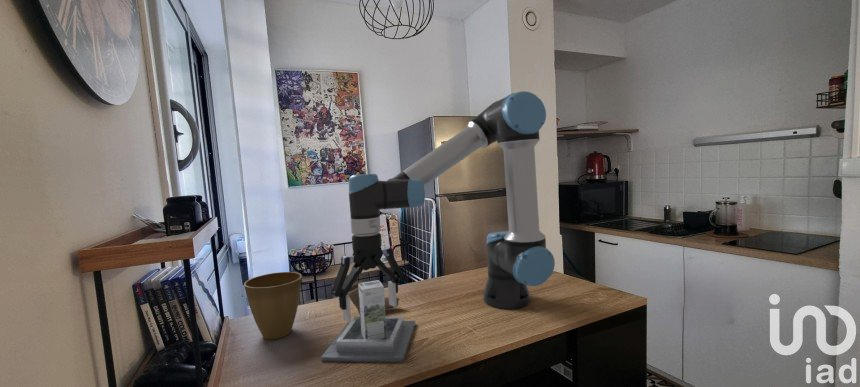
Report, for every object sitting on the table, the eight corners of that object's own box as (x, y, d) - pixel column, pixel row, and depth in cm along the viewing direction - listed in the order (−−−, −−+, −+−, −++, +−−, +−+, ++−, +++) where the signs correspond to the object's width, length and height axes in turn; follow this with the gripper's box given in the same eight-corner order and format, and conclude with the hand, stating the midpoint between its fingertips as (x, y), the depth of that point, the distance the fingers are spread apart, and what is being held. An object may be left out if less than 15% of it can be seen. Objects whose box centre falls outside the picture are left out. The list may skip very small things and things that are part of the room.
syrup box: (381, 330, 97) (378, 278, 96) (387, 339, 92) (384, 285, 90) (360, 334, 95) (357, 282, 94) (365, 344, 89) (362, 289, 88)
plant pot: (299, 342, 94) (295, 284, 93) (240, 349, 92) (235, 290, 91) (309, 319, 109) (306, 269, 107) (259, 325, 106) (254, 273, 105)
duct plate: (415, 324, 102) (415, 312, 102) (403, 362, 82) (402, 348, 82) (349, 324, 104) (348, 312, 104) (321, 361, 84) (320, 347, 84)
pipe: (401, 312, 111) (399, 281, 110) (347, 319, 107) (345, 288, 107) (398, 305, 117) (397, 275, 116) (347, 311, 114) (345, 281, 113)
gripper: (325, 243, 80) (332, 333, 82) (413, 228, 96) (417, 303, 97) (313, 239, 86) (319, 323, 88) (398, 225, 102) (402, 296, 103)
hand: (371, 312), depth 92 cm, fingers open, 13 cm apart
